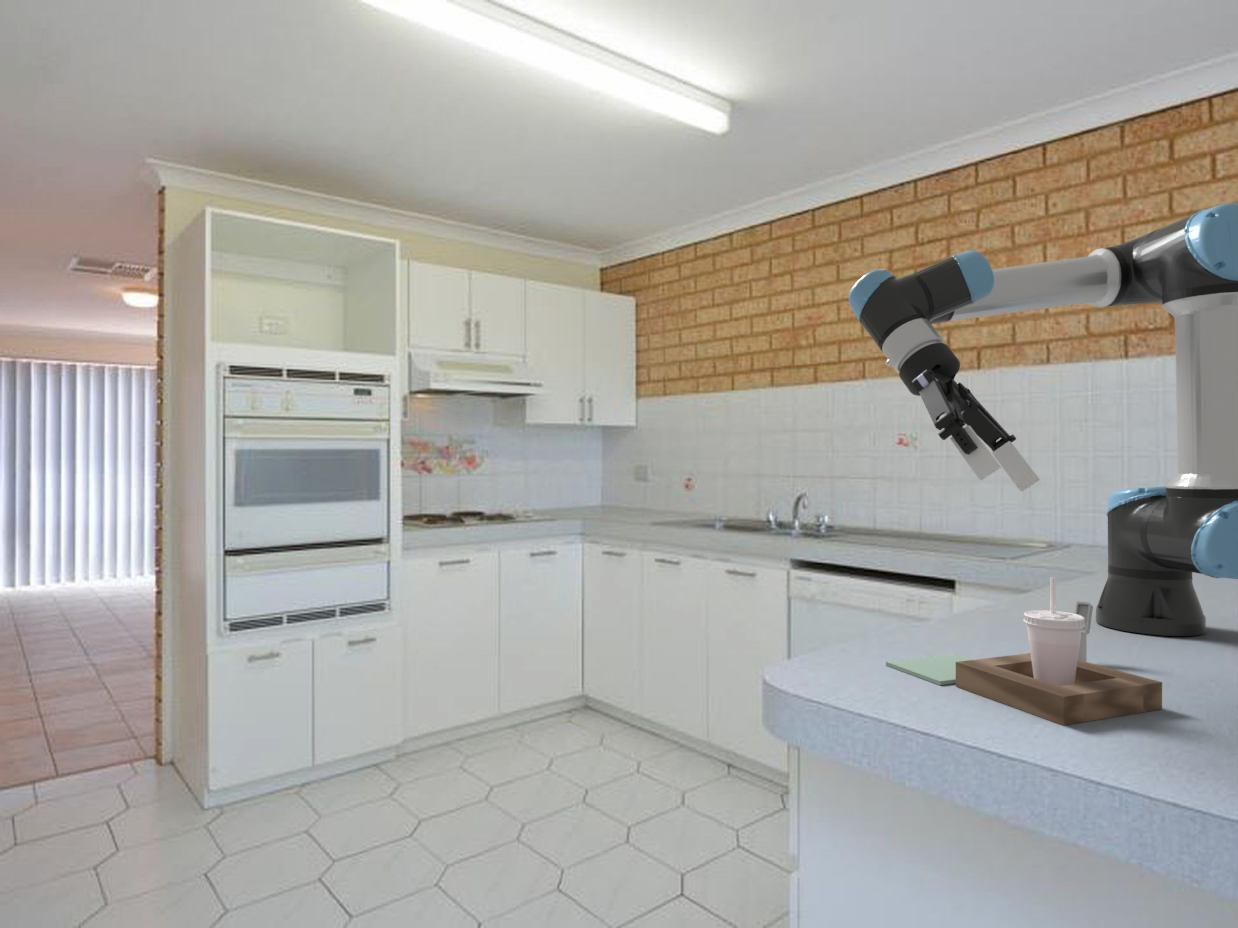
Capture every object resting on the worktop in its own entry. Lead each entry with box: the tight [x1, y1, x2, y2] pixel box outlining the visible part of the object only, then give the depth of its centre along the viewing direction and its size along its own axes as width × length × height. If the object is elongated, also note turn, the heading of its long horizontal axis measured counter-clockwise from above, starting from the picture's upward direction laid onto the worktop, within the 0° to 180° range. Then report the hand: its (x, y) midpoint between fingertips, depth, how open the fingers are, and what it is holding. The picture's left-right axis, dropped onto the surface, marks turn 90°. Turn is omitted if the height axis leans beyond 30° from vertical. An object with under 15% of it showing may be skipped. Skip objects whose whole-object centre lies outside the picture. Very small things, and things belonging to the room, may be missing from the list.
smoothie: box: [1023, 576, 1086, 686], centre depth 91 cm, size 6×6×14 cm
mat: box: [885, 653, 975, 686], centre depth 103 cm, size 12×10×1 cm
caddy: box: [955, 652, 1163, 726], centre depth 91 cm, size 15×15×3 cm
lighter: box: [1074, 601, 1094, 662], centre depth 107 cm, size 7×2×8 cm, turn 134°
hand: (1011, 480), depth 99 cm, fingers open, 13 cm apart
